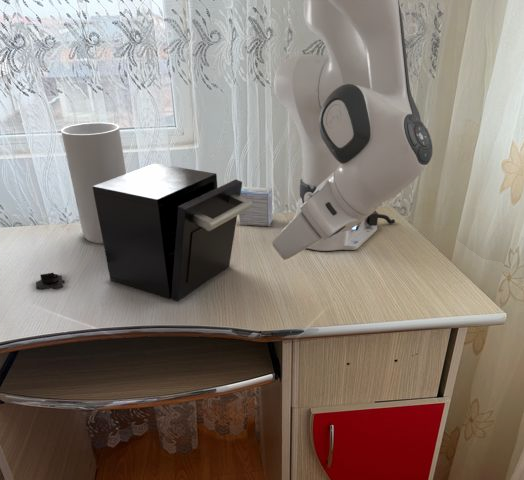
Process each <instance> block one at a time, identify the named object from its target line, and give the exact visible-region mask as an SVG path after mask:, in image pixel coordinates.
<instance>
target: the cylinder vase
mask: <svg viewBox="0 0 524 480" xmlns="http://www.w3.org/2000/svg"><path fill="white" fill-rule="evenodd" d="M60 131H61V132H60V133H61V138H62V142H63V146H64V151H65V156H66V161H67V165H68V170H69V175H70V179H71V184H72V189H73V193H74V198H75V204H76V207H77V212H78V216H79V222H80V226H81V231H82V236H83V237H84V239H85V240H87V241H88V242H91V243H94V244H103V239H102V234H101V229H100V224H99V218H98V213H97V208H96V203H95V198H94V192H93V187H92V186H95V185H97V184H100V183H103V182H106V181H108V180H111V179H114V178H116V177H119V176H122V175H125V174H127V170H126V163H125V156H124V150H123V144H122V137H121V132H120V131H121V130H120V125H118V124H116V123H112V122H111V123H110V122H86V123H78V124H73V125H69V126H65V127H63V128H62V129H60Z"/></svg>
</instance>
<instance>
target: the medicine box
mask: <svg viewBox="0 0 524 480" xmlns="http://www.w3.org/2000/svg"><path fill="white" fill-rule="evenodd" d="M240 196H241V197H243V198H246V199H248V200H251V201H252V203H253V206H252V207H251V208H250V209H248V210H246V211H244V212H243V213H241V214H239V215H238V222H239V225H241V226H242V225H244V226H259V227H260V226H261V227H270V226H271V224H272V222H273V189H272V188H271V187H256V186H242V188H241V194H240Z"/></svg>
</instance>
